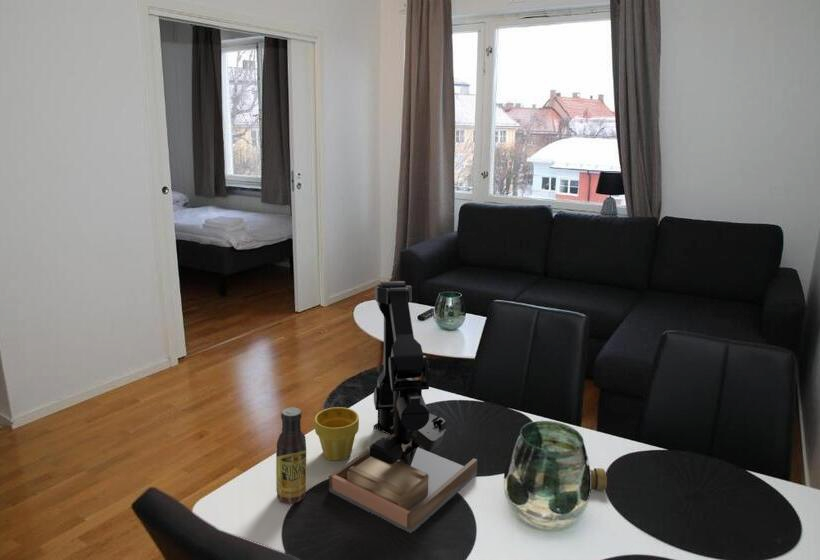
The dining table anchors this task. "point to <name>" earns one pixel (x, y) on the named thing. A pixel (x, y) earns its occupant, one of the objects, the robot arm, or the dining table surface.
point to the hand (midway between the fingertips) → (406, 470)
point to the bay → (441, 488)
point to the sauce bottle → (291, 458)
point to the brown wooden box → (390, 481)
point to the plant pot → (337, 431)
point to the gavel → (598, 479)
